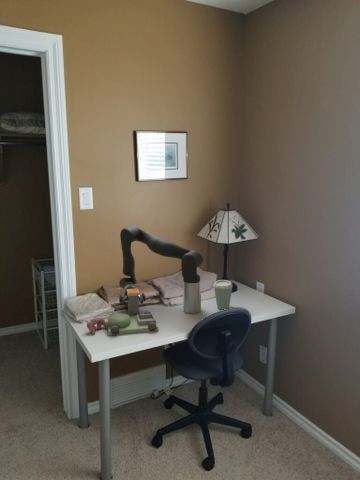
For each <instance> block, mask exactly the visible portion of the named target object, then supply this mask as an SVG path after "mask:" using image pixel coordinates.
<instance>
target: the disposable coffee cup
mask: <svg viewBox="0 0 360 480" xmlns="http://www.w3.org/2000/svg"><path fill="white" fill-rule="evenodd" d="M213 290H214V295H215V303H216V307H217V309H218V310H222V311H223V309H226V310H228V309H229V308H230V303H231V297H232V290H233V284H232V281H230V280H228V279H219V280H216V281H215V282H214V284H213Z"/></svg>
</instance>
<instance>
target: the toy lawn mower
mask: <svg viewBox="0 0 360 480" xmlns="http://www.w3.org/2000/svg"><path fill="white" fill-rule="evenodd" d="M107 325H108V328H107V329H108V336H117V335H127V334H128V335H129V334H137V333H147V332H158V331H159V325H158V321H157V319H156V317H155V314H154V312H153V313H152V311H150V310H146V311H144V313H142V314H139V315H137V316H129V314H126V313H111V314H110V315H109V316H108V317H107Z"/></svg>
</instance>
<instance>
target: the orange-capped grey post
mask: <svg viewBox="0 0 360 480" xmlns="http://www.w3.org/2000/svg"><path fill="white" fill-rule="evenodd" d="M127 295H128V302H127V304H128V307H127V308H128V315H129V316H137V315H140V314H139V313H140V310H139V309H140V307H139V306H140V305H139V303H140V301H138V295H140V290H139V288H136V289H127Z"/></svg>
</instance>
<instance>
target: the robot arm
mask: <svg viewBox="0 0 360 480" xmlns="http://www.w3.org/2000/svg"><path fill="white" fill-rule="evenodd" d="M119 235H120V245H121V252H122V274H123V275H124V276H127V277H122V278H120V280H119V283H118V285H119V288H120V287H122V288H123V289H124V291H123V295H121V294H119V295H118V299H119V302H118V303H119V304H121V303H122V304H123V305H124V306H126V305H127V303H128V295H127V289H137V286H136V287H135V285H134V284H136V283H137V284H138V282H137V278H136V273H135V268H136V267H135V266H136V265H135V264H136V263H135V258H134V255H133V252H132V249H131V248H132V244H133V243H134V242H139V243H143V244H145V246H147V248H148V249H149V250H150V251H151V252H152V253H154V254H157V255H159V256H162V257H166V258H172V259H177V260H181V261H180V263H181V264H180V265H181V276H182V279H183V281H182V282H183V284H182V287H183V289H182V291H183V292H182V295H183V297H182V304H183V305H182V308H183V310H182V311H183V312H184V313H186V314H197V313H200V312H201V311H202V295H201V276H200V275H199V274H198V268H199V267H201V266H202V264H203V262H204V257H203V254H201V252H199V251H198V250H193V249H192V248H191V249H190V248H187V247H184V246H181V245H178V244H177V243H174V242H172V241H169V240H167V239H165V238H163V237H161V236H157V235H155V234H152V233H150V232H147V231H146V230H144V229H143V228H140V227H138V226H136V225H129V226H127V227H124V228H122V229H121V230H120V234H119ZM146 299H147V296H146V295H145V293H144V292H143V293H141V294H139V295H138V302H139V303H140V305H142V304H144V302H146Z"/></svg>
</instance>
